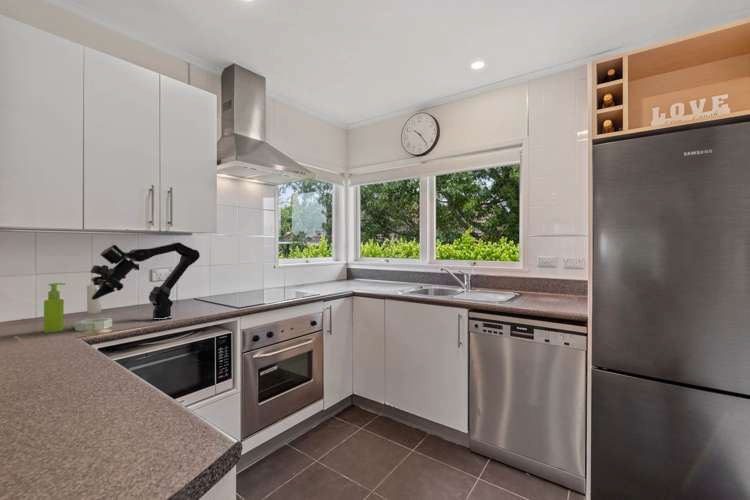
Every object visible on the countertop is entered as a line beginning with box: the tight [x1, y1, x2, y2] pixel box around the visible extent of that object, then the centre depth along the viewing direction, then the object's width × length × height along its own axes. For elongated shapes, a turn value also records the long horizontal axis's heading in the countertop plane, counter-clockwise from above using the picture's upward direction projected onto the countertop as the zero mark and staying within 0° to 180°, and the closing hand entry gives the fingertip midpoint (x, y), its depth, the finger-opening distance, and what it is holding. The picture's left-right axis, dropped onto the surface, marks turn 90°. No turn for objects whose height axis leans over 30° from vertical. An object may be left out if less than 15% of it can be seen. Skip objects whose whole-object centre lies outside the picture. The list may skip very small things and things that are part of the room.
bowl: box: [74, 317, 113, 332], centre depth 146 cm, size 12×12×4 cm
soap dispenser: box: [43, 282, 66, 333], centre depth 142 cm, size 6×7×20 cm
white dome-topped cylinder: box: [86, 284, 102, 314], centre depth 146 cm, size 5×5×12 cm
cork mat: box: [80, 328, 113, 336], centre depth 138 cm, size 10×10×1 cm
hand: (90, 298), depth 144 cm, fingers closed on white dome-topped cylinder, 5 cm apart
